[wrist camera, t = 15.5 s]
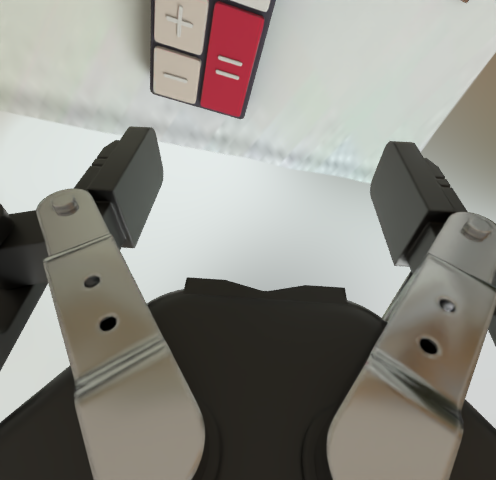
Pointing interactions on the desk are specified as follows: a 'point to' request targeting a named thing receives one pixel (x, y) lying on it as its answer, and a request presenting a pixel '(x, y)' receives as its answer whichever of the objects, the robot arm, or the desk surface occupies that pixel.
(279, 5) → the desk surface
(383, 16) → the desk surface
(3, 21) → the desk surface
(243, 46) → the calculator
